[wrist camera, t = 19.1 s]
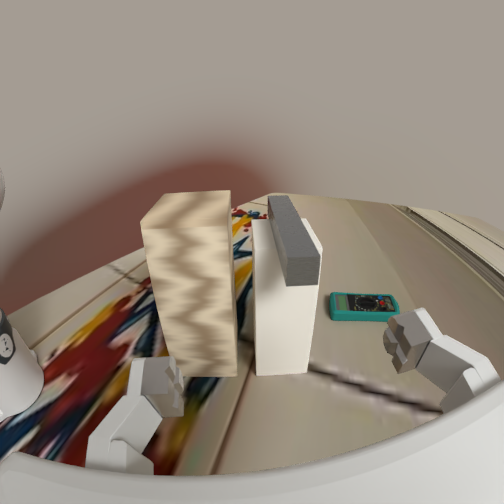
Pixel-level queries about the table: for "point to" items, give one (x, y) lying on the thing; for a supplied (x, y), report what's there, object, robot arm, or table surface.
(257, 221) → the block
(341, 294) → the digital multimeter
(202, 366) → the tall stand
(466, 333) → the table surface
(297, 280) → the rod
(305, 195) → the table surface
